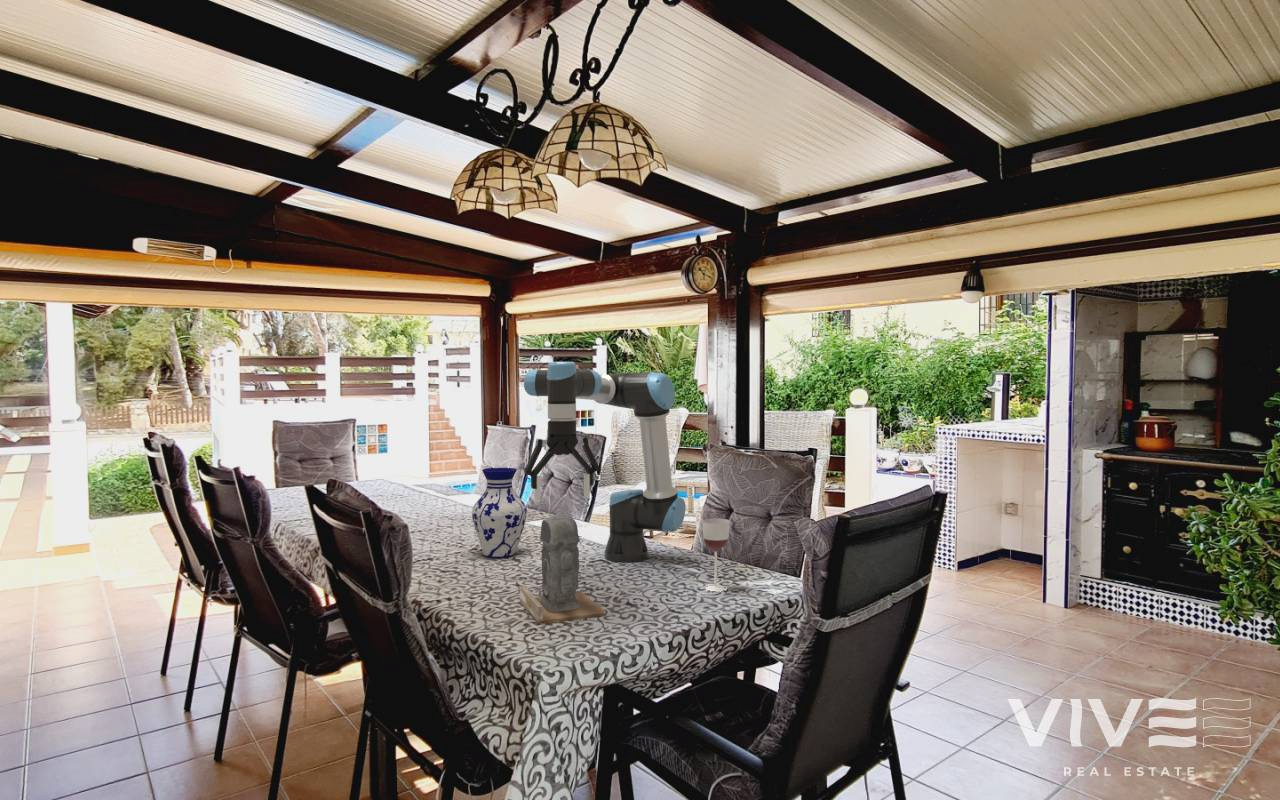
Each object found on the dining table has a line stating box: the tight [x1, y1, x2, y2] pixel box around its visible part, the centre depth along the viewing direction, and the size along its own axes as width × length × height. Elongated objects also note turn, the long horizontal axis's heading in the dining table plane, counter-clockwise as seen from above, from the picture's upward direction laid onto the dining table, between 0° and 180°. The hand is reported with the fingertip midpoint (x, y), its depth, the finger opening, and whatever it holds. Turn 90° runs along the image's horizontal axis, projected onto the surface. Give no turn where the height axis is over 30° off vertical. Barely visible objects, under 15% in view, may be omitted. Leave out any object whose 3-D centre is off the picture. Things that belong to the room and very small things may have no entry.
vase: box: [471, 467, 528, 559], centre depth 253 cm, size 19×19×30 cm
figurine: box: [539, 511, 581, 612], centre depth 192 cm, size 10×14×25 cm
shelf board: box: [519, 585, 607, 625], centre depth 192 cm, size 18×20×4 cm
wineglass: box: [701, 517, 730, 593], centre depth 211 cm, size 8×9×20 cm
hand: (562, 499), depth 192 cm, fingers open, 13 cm apart
